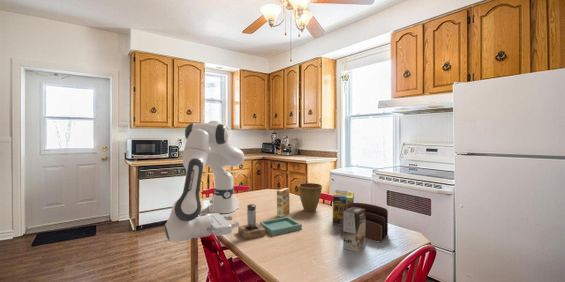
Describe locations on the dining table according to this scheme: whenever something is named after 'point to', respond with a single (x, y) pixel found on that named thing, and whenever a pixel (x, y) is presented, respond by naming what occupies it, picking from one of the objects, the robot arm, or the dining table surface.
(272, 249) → the dining table surface
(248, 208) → the spice jar
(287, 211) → the candy box
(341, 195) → the protein box
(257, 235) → the socket block
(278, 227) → the tray
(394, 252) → the dining table surface
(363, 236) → the coffee box
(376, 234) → the letter holder
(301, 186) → the plant pot
